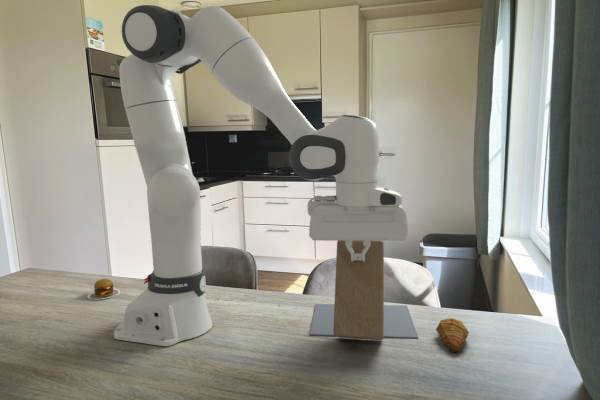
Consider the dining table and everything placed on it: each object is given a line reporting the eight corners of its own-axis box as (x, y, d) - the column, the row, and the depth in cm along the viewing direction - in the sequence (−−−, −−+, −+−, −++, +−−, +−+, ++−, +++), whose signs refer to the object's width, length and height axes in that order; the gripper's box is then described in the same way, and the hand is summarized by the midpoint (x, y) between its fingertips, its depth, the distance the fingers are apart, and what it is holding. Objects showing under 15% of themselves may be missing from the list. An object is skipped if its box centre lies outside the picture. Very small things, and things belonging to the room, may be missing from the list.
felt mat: (309, 335, 94) (309, 334, 94) (316, 304, 112) (315, 303, 112) (418, 338, 92) (418, 337, 92) (406, 306, 109) (406, 305, 109)
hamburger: (77, 296, 125) (75, 279, 125) (119, 287, 133) (117, 270, 132) (86, 308, 116) (84, 289, 115) (131, 297, 123) (129, 279, 123)
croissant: (434, 325, 98) (434, 305, 97) (465, 328, 96) (465, 307, 96) (437, 353, 85) (437, 330, 85) (472, 357, 83) (473, 333, 83)
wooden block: (383, 338, 82) (383, 240, 89) (332, 335, 84) (336, 239, 91) (383, 340, 91) (383, 251, 98) (338, 337, 93) (341, 250, 100)
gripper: (305, 197, 84) (307, 264, 85) (409, 196, 81) (409, 265, 83) (308, 194, 90) (310, 256, 92) (405, 192, 87) (405, 257, 89)
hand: (357, 260), depth 87 cm, fingers closed
